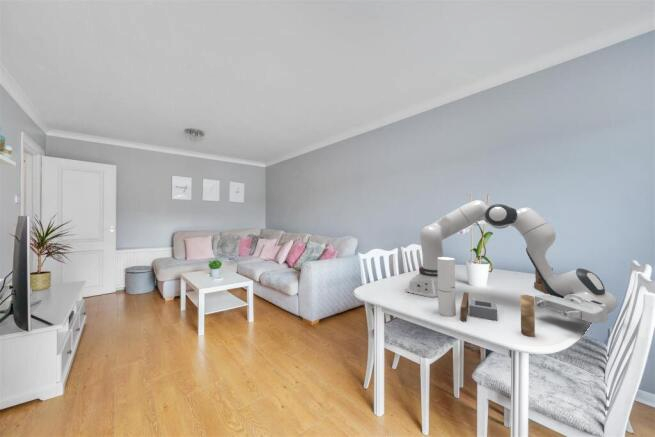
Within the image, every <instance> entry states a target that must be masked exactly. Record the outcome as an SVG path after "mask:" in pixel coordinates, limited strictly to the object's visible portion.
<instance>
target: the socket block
mask: <svg viewBox="0 0 655 437" xmlns="http://www.w3.org/2000/svg"><path fill="white" fill-rule="evenodd" d="M469 317H471V318H476V319H477V318H478V319H482V320H483V319H484V320H490V321H493V322H494V321H496V322H498V306H497V302H495V301H489V300H481V299H476V298H470V300H469Z"/></svg>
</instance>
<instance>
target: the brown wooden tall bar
mask: <svg viewBox="0 0 655 437" xmlns="http://www.w3.org/2000/svg"><path fill="white" fill-rule="evenodd" d="M535 304H536V303H535V296H532V295H528V294H521V295H520V333H521V335H523V336H525V337H531V338H532V337H535V336H536V329H535V328H536V327H535V326H536V321H535V320H536V318H535V315H536V313H535Z"/></svg>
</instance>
